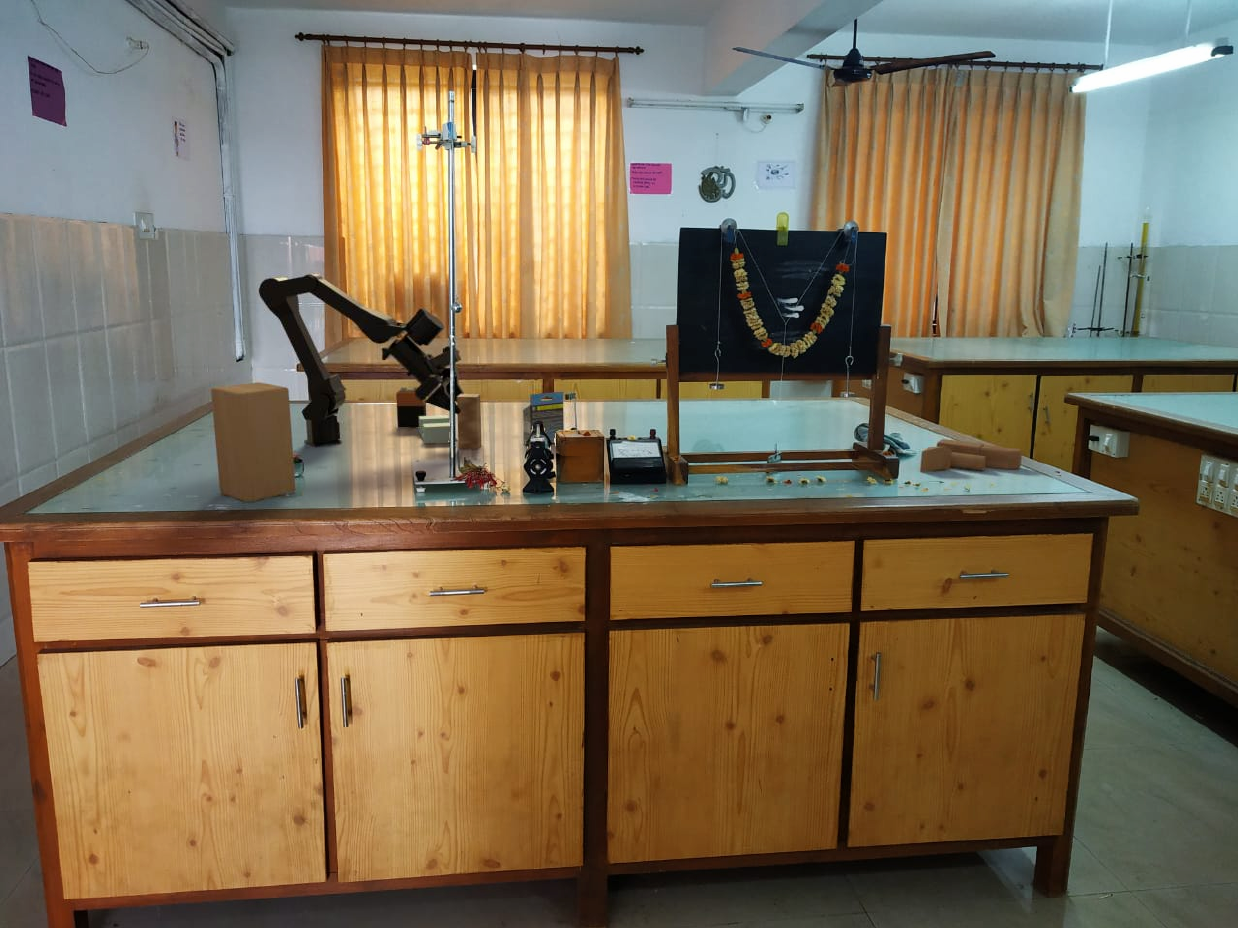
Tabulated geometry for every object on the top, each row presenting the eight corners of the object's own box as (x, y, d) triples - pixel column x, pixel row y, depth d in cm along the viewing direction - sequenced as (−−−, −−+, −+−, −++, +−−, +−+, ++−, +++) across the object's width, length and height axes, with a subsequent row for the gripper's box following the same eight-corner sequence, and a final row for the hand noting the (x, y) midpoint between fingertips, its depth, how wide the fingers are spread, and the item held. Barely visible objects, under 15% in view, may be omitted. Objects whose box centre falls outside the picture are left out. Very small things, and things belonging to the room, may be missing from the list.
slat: (458, 448, 217) (456, 396, 214) (462, 444, 220) (461, 393, 218) (477, 449, 216) (476, 397, 213) (481, 445, 220) (480, 394, 217)
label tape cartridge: (556, 440, 227) (556, 389, 224) (564, 443, 224) (564, 391, 221) (523, 444, 222) (522, 392, 219) (530, 447, 219) (530, 394, 216)
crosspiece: (455, 442, 223) (454, 425, 222) (425, 444, 221) (424, 427, 220) (447, 430, 236) (447, 415, 235) (419, 432, 234) (418, 416, 233)
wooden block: (268, 483, 185) (260, 381, 180) (296, 492, 178) (289, 387, 174) (219, 493, 177) (209, 387, 172) (247, 503, 171) (238, 393, 166)
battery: (424, 428, 239) (423, 388, 237) (397, 428, 239) (395, 388, 236) (426, 424, 243) (425, 386, 241) (400, 424, 243) (398, 386, 240)
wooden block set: (938, 433, 213) (1023, 443, 203) (936, 458, 214) (1020, 469, 205) (916, 446, 199) (1007, 458, 189) (914, 472, 200) (1004, 485, 191)
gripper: (427, 339, 204) (479, 391, 206) (448, 331, 222) (496, 378, 224) (393, 375, 206) (445, 426, 208) (416, 364, 224) (464, 411, 226)
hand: (464, 409), depth 216 cm, fingers open, 9 cm apart
